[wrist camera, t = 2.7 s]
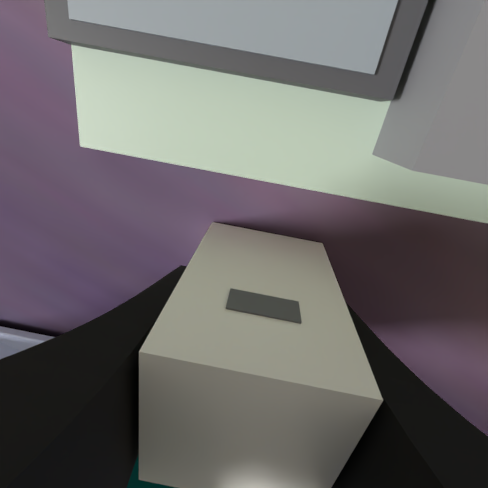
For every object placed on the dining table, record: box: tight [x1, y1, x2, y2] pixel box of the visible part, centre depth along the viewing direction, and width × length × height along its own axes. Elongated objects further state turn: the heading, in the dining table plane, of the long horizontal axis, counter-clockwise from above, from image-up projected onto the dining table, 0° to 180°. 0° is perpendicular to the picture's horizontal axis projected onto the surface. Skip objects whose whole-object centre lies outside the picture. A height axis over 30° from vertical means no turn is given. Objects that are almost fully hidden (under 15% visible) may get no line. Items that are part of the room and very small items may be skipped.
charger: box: [139, 222, 383, 488], centre depth 8 cm, size 4×4×6 cm
